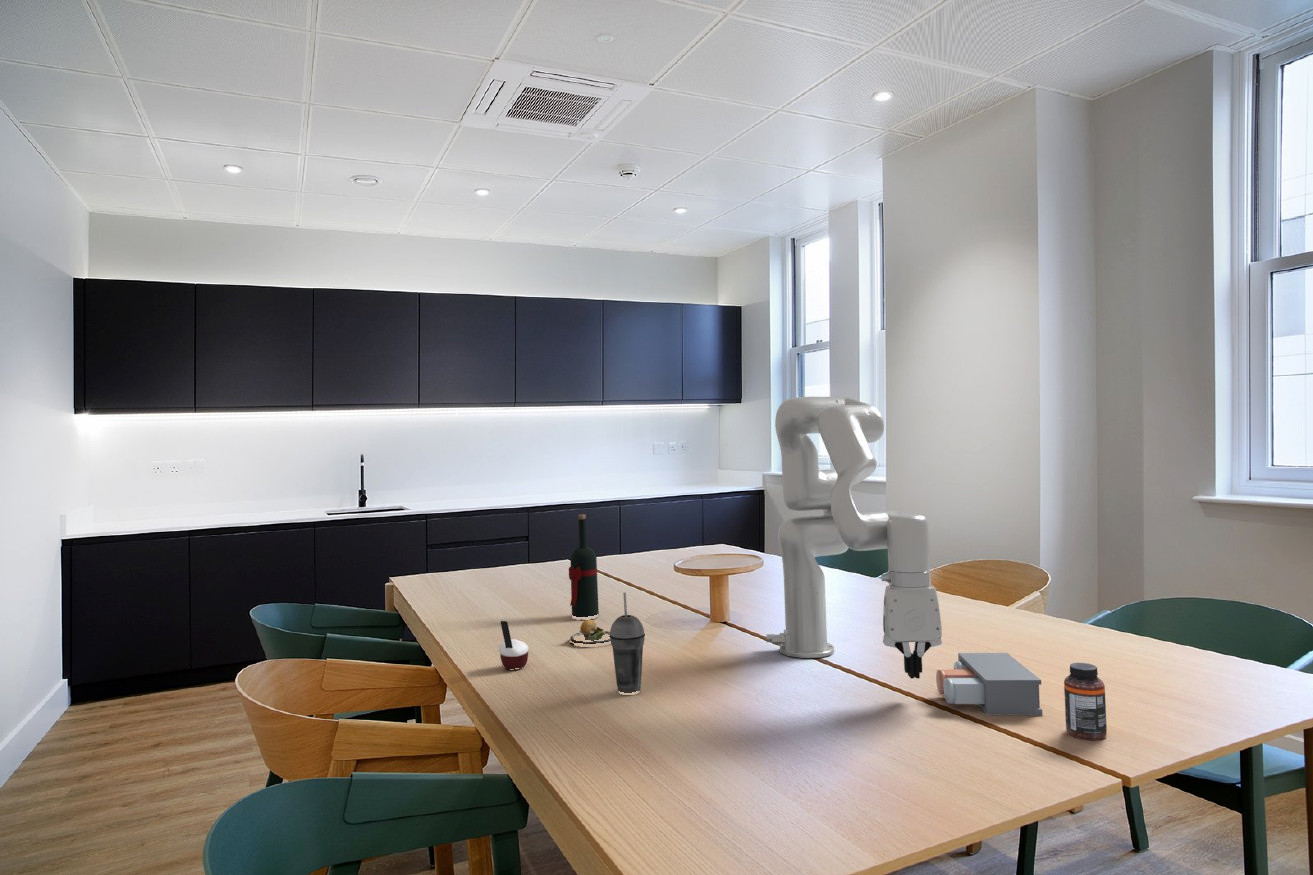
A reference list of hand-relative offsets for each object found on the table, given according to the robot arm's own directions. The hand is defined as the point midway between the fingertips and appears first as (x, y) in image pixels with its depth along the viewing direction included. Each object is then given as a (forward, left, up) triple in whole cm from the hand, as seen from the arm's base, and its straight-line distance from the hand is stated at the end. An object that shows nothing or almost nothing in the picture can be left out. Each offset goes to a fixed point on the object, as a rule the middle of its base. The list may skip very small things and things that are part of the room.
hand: (913, 676), depth 150 cm
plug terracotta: (+9, +1, -3) cm, 10 cm away
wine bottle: (-78, +73, -5) cm, 107 cm away
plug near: (+9, -5, -3) cm, 11 cm away
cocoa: (-84, +22, -5) cm, 87 cm away
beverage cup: (-55, +5, -5) cm, 56 cm away
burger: (-70, +46, -5) cm, 84 cm away
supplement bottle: (+24, -17, -5) cm, 30 cm away
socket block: (+15, +1, -4) cm, 15 cm away
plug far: (+14, +6, -3) cm, 16 cm away
